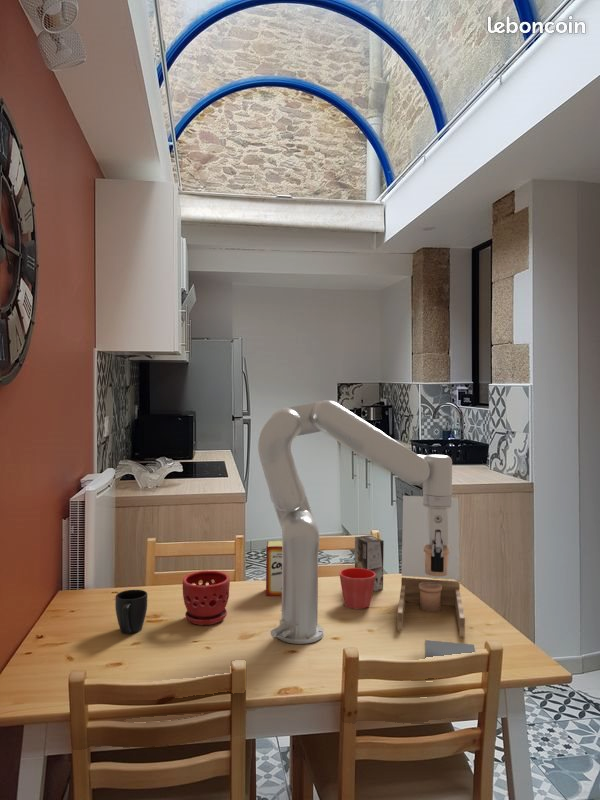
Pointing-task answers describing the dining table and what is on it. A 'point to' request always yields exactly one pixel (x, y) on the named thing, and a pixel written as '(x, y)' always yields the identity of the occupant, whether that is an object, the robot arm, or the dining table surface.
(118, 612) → the mug
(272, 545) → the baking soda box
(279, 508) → the robot arm
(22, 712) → the dining table surface
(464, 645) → the rubber mat
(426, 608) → the pot
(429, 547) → the small pot
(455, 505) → the lid
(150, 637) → the dining table surface
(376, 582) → the coffee box
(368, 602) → the flower pot
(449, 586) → the wooden open tray
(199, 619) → the plant pot
